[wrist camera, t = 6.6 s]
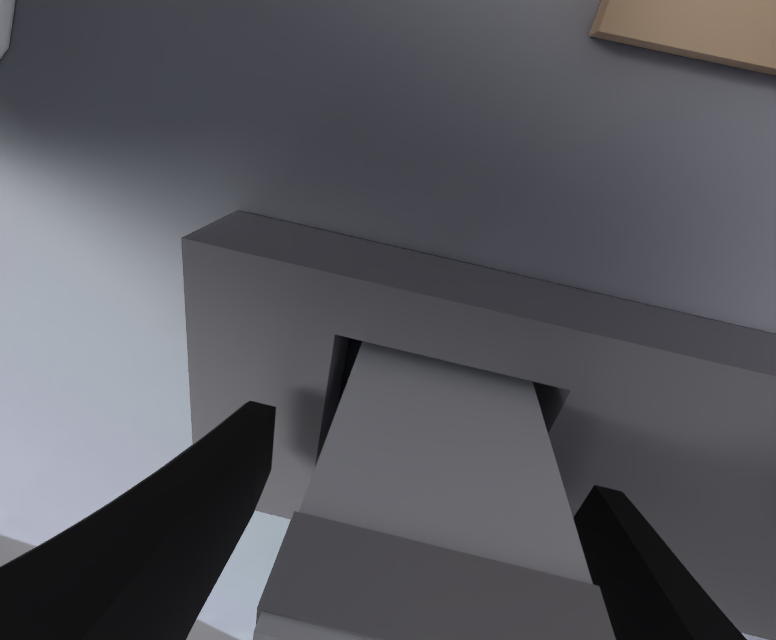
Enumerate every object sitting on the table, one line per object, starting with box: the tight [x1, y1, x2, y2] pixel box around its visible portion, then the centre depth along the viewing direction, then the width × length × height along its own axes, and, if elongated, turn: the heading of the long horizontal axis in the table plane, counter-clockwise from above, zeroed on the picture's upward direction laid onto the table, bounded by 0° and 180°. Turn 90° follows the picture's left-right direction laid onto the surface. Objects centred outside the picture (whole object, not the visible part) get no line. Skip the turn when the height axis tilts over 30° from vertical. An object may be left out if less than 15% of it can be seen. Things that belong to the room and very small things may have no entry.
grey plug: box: [253, 341, 616, 640], centre depth 9 cm, size 4×4×8 cm
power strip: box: [181, 210, 776, 640], centre depth 11 cm, size 26×8×3 cm, turn 79°
